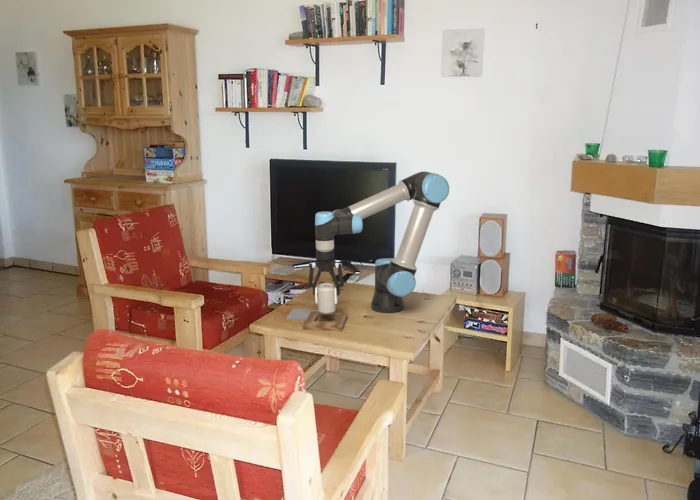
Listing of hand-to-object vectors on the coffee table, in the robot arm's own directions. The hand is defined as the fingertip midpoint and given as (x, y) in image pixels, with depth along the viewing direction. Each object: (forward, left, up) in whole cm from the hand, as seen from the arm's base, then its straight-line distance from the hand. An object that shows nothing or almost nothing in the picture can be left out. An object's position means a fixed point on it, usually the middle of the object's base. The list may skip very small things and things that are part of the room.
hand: (326, 302), depth 248 cm
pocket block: (0, 0, -9) cm, 9 cm away
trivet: (+12, -9, -9) cm, 18 cm away
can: (0, 0, -4) cm, 4 cm away
